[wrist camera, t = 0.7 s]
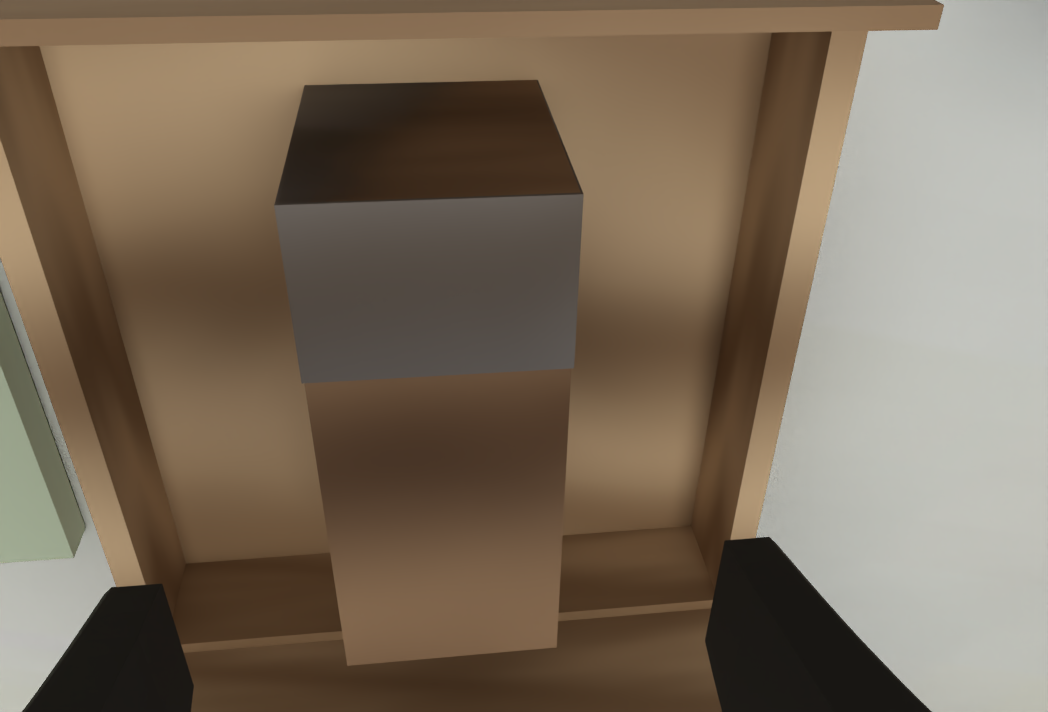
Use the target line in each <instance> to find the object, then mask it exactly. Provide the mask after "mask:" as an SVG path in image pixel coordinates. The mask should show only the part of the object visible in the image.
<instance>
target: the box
mask: <svg viewBox="0 0 1048 712" xmlns="http://www.w3.org/2000/svg"><path fill="white" fill-rule="evenodd" d="M583 196H584V194H583V191H582V189H581V186H580V184H579V181H578V179H577V176H576V174H575V171H574V169H573V166H572V164H571V161H570V159H569V156H568V154H567V151H566V149H565V146H564V144H563V141H562V139H561V136H560V134H559V131H558V129H557V126H556V124H555V121H554V119H553V116H552V114H551V111H550V109H549V106H548V104H547V101H546V99H545V96H544V94H543V91H542V89H541V86H540V84H539V81H538V80H506V81H463V82H420V83H377V84H333V85H304V89H303V93H302V97H301V101H300V105H299V109H298V113H297V117H296V121H295V125H294V129H293V133H292V137H291V141H290V145H289V148H288V152H287V156H286V160H285V164H284V168H283V172H282V176H281V180H280V184H279V188H278V192H277V196H276V200H275V204H274V208H275V215H276V221H277V228H278V234H279V241H280V247H281V254H282V260H283V266H284V273H285V279H286V286H287V292H288V299H289V305H290V312H291V318H292V325H293V331H294V338H295V344H296V351H297V357H298V364H299V370H300V376H301V383H302V384H303V383H304V385H305V392H306V398H307V405H308V411H309V418H310V424H311V431H312V438H313V444H314V451H315V457H316V464H317V470H318V477H319V483H320V490H321V497H322V503H323V510H324V516H325V523H326V529H327V536H328V542H329V549H330V556H331V562H332V569H333V575H334V582H335V588H336V595H337V601H338V608H339V615H340V621H341V628H342V634H343V641H344V647H345V654H346V660H347V666H351V665H362V664H374V663H385V662H397V661H408V660H420V659H431V658H442V657H454V656H465V655H477V654H488V653H500V652H511V651H522V650H534V649H545V648H557V631H558V613H559V594H560V575H561V556H562V537H563V518H564V500H565V481H566V462H567V443H568V424H569V405H570V386H571V368H574V360H575V342H576V323H577V305H578V287H579V269H580V251H581V232H582V214H583Z"/></svg>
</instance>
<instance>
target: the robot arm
mask: <svg viewBox="0 0 1048 712" xmlns="http://www.w3.org/2000/svg"><path fill="white" fill-rule="evenodd" d="M705 643H706V648H707V652H708V656H709V661H710V665H711V669H712V673H713V678H714V682H715V686H716V690H717V694H718V698H719V702H720V705H721V709H722V712H931V711H930V710H929V709H928V708H927V707H926V706H925V705H924V704H923V703H922V702H921V701H920V700H919V699H918V698H917V697H916V696H915V695H914V694H913V693H912V692H911V691H910V690H909V689H908V688H907V687H906V686H905V685H904V684H903V683H902V682H901V681H900V680H899V679H898V678H897V677H896V676H895V675H894V674H893V673H892V672H891V671H890V670H889V669H888V667H887V666H886V665H885V664H884V663H883V662H882V661H881V660H880V659H879V658H878V657H877V656H876V655H875V654H874V653H873V652H872V651H871V650H870V649H869V648H868V647H867V645H866V644H865V643H864V642H863V641H862V640H861V639H860V638H859V637H858V636H857V635H856V634H855V633H854V632H853V630H852V629H851V628H850V627H849V626H848V625H847V624H846V623H845V622H844V621H843V620H842V618H841V617H840V616H839V615H838V614H837V613H836V612H835V611H834V609H833V608H832V607H831V606H830V605H829V604H828V603H827V602H826V601H825V599H824V598H823V597H822V596H821V595H820V594H819V593H818V591H817V590H816V589H815V588H814V587H813V586H812V585H811V583H810V582H809V581H808V580H807V579H806V578H805V577H804V575H803V574H802V573H801V572H800V571H799V570H798V568H797V567H796V566H795V565H794V564H793V563H792V561H791V560H790V559H789V558H788V557H787V556H786V554H785V553H784V552H783V551H782V550H781V549H780V548H779V546H778V545H777V544H776V543H775V542H774V541H773V540H772V539H771V538H770V537H762V538H749V539H736V540H725V541H724V546H723V551H722V556H721V561H720V566H719V571H718V576H717V581H716V586H715V592H714V597H713V602H712V607H711V612H710V617H709V622H708V627H707V632H706V637H705ZM193 689H194V684H193V681H192V678H191V675H190V672H189V668H188V665H187V662H186V659H185V655H184V652H183V649H182V646H181V643H180V639H179V636H178V633H177V630H176V626H175V623H174V620H173V617H172V613H171V610H170V607H169V604H168V601H167V597H166V594H165V591H164V588H163V584H150V585H137V586H124V587H112V588H111V589H109V590H108V591H107V592H106V593H105V594H104V596H103V597H102V599H101V600H100V602H99V603H98V605H97V606H96V608H95V609H94V610H93V612H92V613H91V615H90V616H89V618H88V619H87V621H86V622H85V624H84V625H83V627H82V628H81V630H80V631H79V633H78V634H77V636H76V637H75V638H74V640H73V641H72V643H71V644H70V646H69V647H68V649H67V650H66V651H65V653H64V654H63V656H62V657H61V659H60V660H59V662H58V663H57V664H56V666H55V667H54V669H53V670H52V671H51V673H50V674H49V676H48V677H47V678H46V680H45V681H44V683H43V684H42V685H41V687H40V688H39V690H38V691H37V692H36V694H35V695H34V697H33V698H32V699H31V701H30V702H29V703H28V705H27V706H26V707H25V709H24V710H23V711H22V712H191V707H192V698H193Z"/></svg>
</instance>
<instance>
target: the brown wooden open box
mask: <svg viewBox="0 0 1048 712" xmlns="http://www.w3.org/2000/svg"><path fill="white" fill-rule="evenodd" d="M943 7H944V5H943V4H941V3H939V2H937V1H935V0H0V258H1V261H2V264H3V266H4V269H5V272H6V275H7V278H8V281H9V283H10V286H11V289H12V292H13V295H14V298H15V300H16V303H17V306H18V309H19V312H20V315H21V317H22V320H23V323H24V326H25V329H26V332H27V334H28V337H29V340H30V343H31V346H32V349H33V351H34V354H35V357H36V360H37V363H38V366H39V369H40V371H41V374H42V377H43V380H44V383H45V386H46V388H47V391H48V394H49V397H50V400H51V403H52V405H53V408H54V411H55V414H56V417H57V420H58V422H59V425H60V428H61V431H62V434H63V437H64V439H65V442H66V445H67V448H68V451H69V454H70V456H71V459H72V462H73V465H74V468H75V471H76V473H77V476H78V479H79V482H80V485H81V488H82V490H83V493H84V496H85V499H86V502H87V505H88V507H89V510H90V513H91V516H92V519H93V522H94V524H95V527H96V530H97V533H98V536H99V539H100V541H101V544H102V547H103V550H104V553H105V556H106V558H107V561H108V564H109V567H110V570H111V573H112V575H113V578H114V581H115V584H116V587H124V586H137V585H150V584H163V588H164V591H165V594H166V597H167V601H168V604H169V607H170V610H171V613H172V617H173V620H174V623H175V626H176V630H177V633H178V636H179V639H180V643H181V646H182V649H183V652H184V655H185V659H186V662H187V665H188V668H189V672H190V675H191V678H192V681H193V684H194V689H193V698H192V707H191V712H722V709H721V705H720V702H719V698H718V694H717V690H716V686H715V682H714V678H713V673H712V669H711V665H710V661H709V656H708V652H707V648H706V643H705V637H706V632H707V627H708V622H709V617H710V612H711V607H712V602H713V597H714V592H715V586H716V581H717V576H718V571H719V566H720V561H721V556H722V551H723V546H724V541H725V540H736V539H749V538H756V533H757V529H758V524H759V520H760V515H761V511H762V506H763V502H764V497H765V493H766V488H767V484H768V479H769V475H770V470H771V466H772V461H773V457H774V452H775V448H776V443H777V438H778V434H779V429H780V425H781V420H782V416H783V411H784V407H785V402H786V398H787V393H788V389H789V384H790V380H791V375H792V371H793V366H794V362H795V357H796V353H797V348H798V344H799V339H800V335H801V330H802V326H803V321H804V317H805V312H806V308H807V303H808V299H809V294H810V290H811V285H812V281H813V276H814V272H815V267H816V263H817V258H818V254H819V249H820V245H821V240H822V236H823V231H824V227H825V222H826V218H827V213H828V209H829V204H830V200H831V195H832V191H833V186H834V182H835V177H836V173H837V168H838V164H839V159H840V155H841V150H842V146H843V141H844V137H845V132H846V128H847V123H848V119H849V114H850V110H851V105H852V101H853V96H854V92H855V87H856V83H857V78H858V74H859V69H860V65H861V60H862V56H863V51H864V47H865V42H866V38H867V33H868V31H882V30H937V29H938V26H939V22H940V18H941V15H942V11H943ZM506 80H538V81H539V84H540V86H541V89H542V91H543V94H544V96H545V99H546V101H547V104H548V106H549V109H550V111H551V114H552V116H553V119H554V121H555V124H556V126H557V129H558V131H559V134H560V136H561V139H562V141H563V144H564V146H565V149H566V151H567V154H568V156H569V159H570V161H571V164H572V166H573V169H574V171H575V174H576V176H577V179H578V181H579V184H580V186H581V189H582V191H583V194H584V196H583V214H582V232H581V251H580V269H579V287H578V305H577V323H576V342H575V360H574V368H571V386H570V405H569V424H568V443H567V462H566V481H565V500H564V518H563V537H562V556H561V575H560V594H559V613H558V631H557V648H545V649H534V650H522V651H511V652H500V653H488V654H477V655H465V656H454V657H442V658H431V659H420V660H408V661H397V662H385V663H374V664H362V665H351V666H347V660H346V654H345V647H344V641H343V634H342V628H341V621H340V615H339V608H338V601H337V595H336V588H335V582H334V575H333V569H332V562H331V556H330V549H329V542H328V536H327V529H326V523H325V516H324V510H323V503H322V497H321V490H320V483H319V477H318V470H317V464H316V457H315V451H314V444H313V438H312V431H311V424H310V418H309V411H308V405H307V398H306V392H305V385H304V383H303V384H302V383H301V376H300V370H299V364H298V357H297V351H296V344H295V338H294V331H293V325H292V318H291V312H290V305H289V299H288V292H287V286H286V279H285V273H284V266H283V260H282V254H281V247H280V241H279V234H278V228H277V221H276V215H275V208H274V204H275V200H276V196H277V192H278V188H279V184H280V180H281V176H282V172H283V168H284V164H285V160H286V156H287V152H288V148H289V145H290V141H291V137H292V133H293V129H294V125H295V121H296V117H297V113H298V109H299V105H300V101H301V97H302V93H303V89H304V85H333V84H377V83H420V82H463V81H506Z"/></svg>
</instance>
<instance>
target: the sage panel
mask: <svg viewBox="0 0 1048 712" xmlns="http://www.w3.org/2000/svg"><path fill="white" fill-rule="evenodd" d="M85 528H86V527H85V525H84V522H83V519H82V516H81V513H80V511H79V508H78V505H77V502H76V500H75V497H74V494H73V491H72V489H71V486H70V483H69V480H68V477H67V475H66V472H65V469H64V466H63V464H62V461H61V458H60V455H59V453H58V450H57V447H56V444H55V442H54V439H53V436H52V433H51V430H50V428H49V425H48V422H47V419H46V417H45V414H44V411H43V408H42V406H41V403H40V400H39V397H38V394H37V392H36V389H35V386H34V383H33V381H32V378H31V375H30V372H29V370H28V367H27V364H26V361H25V359H24V356H23V353H22V350H21V347H20V345H19V342H18V339H17V336H16V334H15V331H14V328H13V325H12V323H11V320H10V317H9V314H8V312H7V309H6V306H5V303H4V300H3V298H2V295H1V292H0V563H9V562H22V561H36V560H50V559H63V558H74V556H75V554H76V551H77V548H78V546H79V543H80V541H81V538H82V535H83V533H84V530H85Z"/></svg>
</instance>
